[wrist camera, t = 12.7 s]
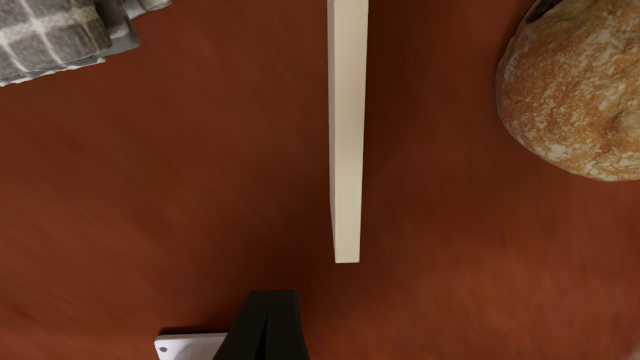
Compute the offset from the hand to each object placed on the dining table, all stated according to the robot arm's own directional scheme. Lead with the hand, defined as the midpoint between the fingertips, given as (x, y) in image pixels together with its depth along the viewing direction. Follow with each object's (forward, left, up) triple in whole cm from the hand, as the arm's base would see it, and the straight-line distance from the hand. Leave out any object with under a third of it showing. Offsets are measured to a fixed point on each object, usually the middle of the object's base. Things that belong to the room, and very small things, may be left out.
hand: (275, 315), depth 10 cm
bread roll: (+5, -15, -10) cm, 19 cm away
